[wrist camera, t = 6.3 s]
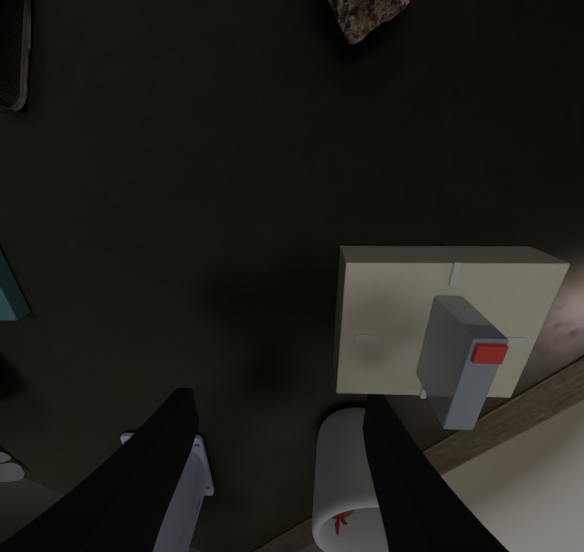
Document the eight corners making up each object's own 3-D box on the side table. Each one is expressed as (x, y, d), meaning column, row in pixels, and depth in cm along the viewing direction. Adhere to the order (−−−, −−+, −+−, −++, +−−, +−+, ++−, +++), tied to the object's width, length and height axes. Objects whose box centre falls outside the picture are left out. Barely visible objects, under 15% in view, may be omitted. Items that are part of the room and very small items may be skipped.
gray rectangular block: (440, 374, 18) (476, 434, 14) (415, 374, 18) (445, 433, 15) (463, 296, 16) (514, 343, 12) (435, 295, 16) (476, 342, 12)
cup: (435, 440, 26) (487, 555, 18) (371, 476, 28) (393, 589, 21) (355, 380, 23) (378, 488, 16) (292, 426, 26) (287, 536, 18)
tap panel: (484, 367, 22) (512, 400, 19) (332, 364, 22) (336, 396, 19) (530, 244, 17) (574, 263, 15) (339, 244, 18) (346, 262, 15)
